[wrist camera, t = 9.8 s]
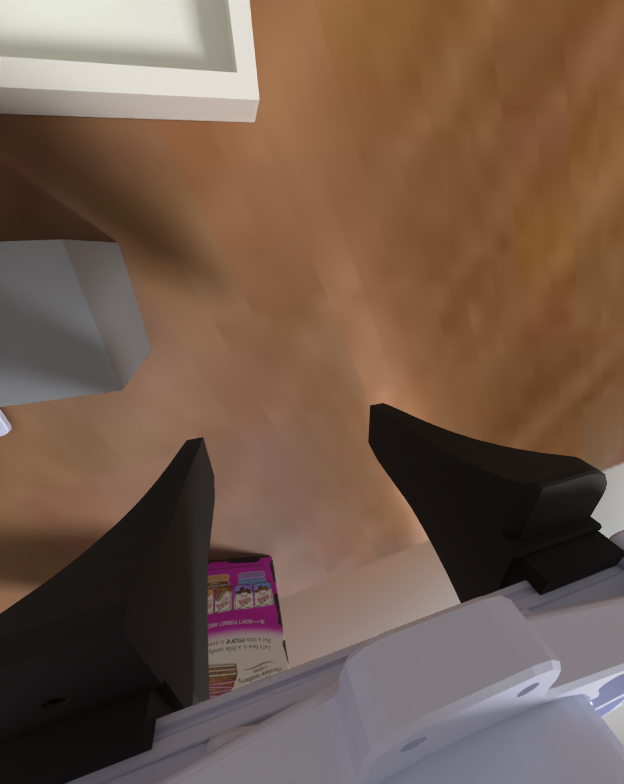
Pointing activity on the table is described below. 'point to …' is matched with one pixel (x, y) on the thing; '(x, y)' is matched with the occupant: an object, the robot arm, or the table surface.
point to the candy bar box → (243, 624)
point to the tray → (128, 59)
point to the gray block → (66, 321)
